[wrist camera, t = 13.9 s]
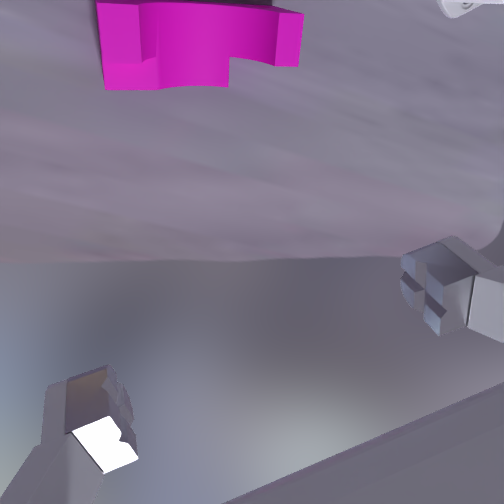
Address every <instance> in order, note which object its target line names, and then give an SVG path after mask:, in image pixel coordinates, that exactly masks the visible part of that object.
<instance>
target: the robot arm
mask: <svg viewBox="0 0 504 504" xmlns="http://www.w3.org/2000/svg"><path fill="white" fill-rule="evenodd" d="M436 1H437V3H438V5H439V6H440V8H441V10H442V12H443V13H444V14H445V15H446V16H447V17H448V18H457V17H459V16H461V15H463V14H465V13H467V12H469V11H471V10H472V9H474V8H476V7H478V6H480V5H482V4H484V3H492V4H504V0H436ZM463 3H465V4H463ZM401 267H402V268H403V269H404V270H405V272H404V274H403V276H402V277H401V289H402V292H403V295H404V297H405V299H406V301H407V302H408V304H409V305H410V306H411V307H412V308H413V309H414V310H417V311H420V312H423V313H424V321H425V322H426V323H427V324H428V325H429V326H430V327H431V328H432V329H433V331H435V333H436V334H437V335H438V336H442V335H445V334H447V333H450V332H452V331H455V330H458V329H461V328H463V327H466V326H468V328H470V329H472V330H474V331H477V332H479V333H481V334H483V335H486V336H488V337H490V338H493V339H495V340H497V341H500V342H502V343H504V265H501V266H498V267H497V266H496V265H495V264H493V263H492V262H490V261H489V260H488V259H486V258H485V257H483V256H482V255H481V254H480V253H478V252H477V251H476V250H474V249H473V248H472V247H470V246H469V245H468V244H466V243H465V242H463V241H462V240H461V239H459V238H458V237H456V236H450V237H447V238H445V239H442V240H440V241H437V242H435V243H432V244H429V245H427V246H424V247H422V248H419V249H416V250H414V251H411V252H408V253H406V254H403V256H402V258H401ZM44 403H45V404H44V414H43V424H42V435H41V444H40V445H38V446H35V447H34V448H33V450H32V451H31V453H30V454H29V456H28V457H27V459H26V460H25V462H24V463H23V465H22V466H21V468H20V469H19V471H18V472H17V474H16V475H15V477H14V478H13V480H12V481H11V483H10V484H9V486H8V487H7V489H6V490H5V492H4V493H3V495H2V496H1V498H0V504H93V503H94V500H95V498H96V496H97V493H98V491H99V488H100V486H101V484H102V481H103V479H104V476H105V475H104V473H106V472H108V471H111V470H113V469H115V468H117V467H120V466H122V465H125V464H127V463H129V462H131V461H134V460H136V459H138V453H137V443H136V434H135V433H134V431H133V430H132V428H131V424H132V422H133V420H134V416H133V408H132V405H131V402H130V398H129V395H128V393H127V390H126V389H125V387H124V385H123V384H121V383H118V382H117V375H116V372H115V370H114V369H113V367H112V366H111V365H105V366H103V367H99V368H96V369H94V370H91V371H88V372H85V373H82V374H79V375H76V376H73V377H70V378H69V379H66V380H64V381H60V382H57V383H54V384H51V385H49V386H48V388H47V390H46V392H45V402H44ZM223 504H504V382H503V383H500V384H498V385H496V386H494V387H491V388H489V389H486V390H484V391H482V392H479V393H478V394H475V395H473V396H470V397H468V398H466V399H463V400H461V401H459V402H457V403H454V404H452V405H449V406H447V407H445V408H443V409H440V410H438V411H436V412H433V413H431V414H429V415H426V416H424V417H422V418H419V419H417V420H415V421H412V422H410V423H408V424H405V425H403V426H401V427H399V428H396V429H394V430H392V431H389V432H387V433H385V434H383V435H380V436H378V437H375V438H373V439H371V440H369V441H366V442H364V443H362V444H360V445H357V446H355V447H352V448H350V449H348V450H345V451H343V452H341V453H338V454H336V455H334V456H332V457H329V458H327V459H325V460H322V461H320V462H318V463H315V464H313V465H311V466H308V467H306V468H304V469H301V470H299V471H297V472H294V473H292V474H290V475H287V476H285V477H283V478H280V479H278V480H276V481H274V482H271V483H269V484H267V485H264V486H262V487H260V488H257V489H255V490H253V491H250V492H248V493H246V494H243V495H241V496H239V497H236V498H234V499H232V500H230V501H227V502H225V503H223Z"/></svg>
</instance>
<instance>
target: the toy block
mask: <svg viewBox="0 0 504 504" xmlns="http://www.w3.org/2000/svg"><path fill="white" fill-rule="evenodd" d="M95 3H96V12H97V22H98V31H99V41H100V50H101V60H102V69H103V78H104V85H105V90H159V89H164V88H169V87H178V86H219V87H228V81H229V57H237V58H244V59H250V60H255V61H259V62H264V63H267V64H270V65H273V66H292V67H298V64H299V55H300V46H301V38H302V29H303V21H304V14H302V13H298V12H294V11H290V10H286V9H282V8H279V7H275V6H266V5H249V4H232V3H215V2H198V1H181V0H95Z"/></svg>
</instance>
